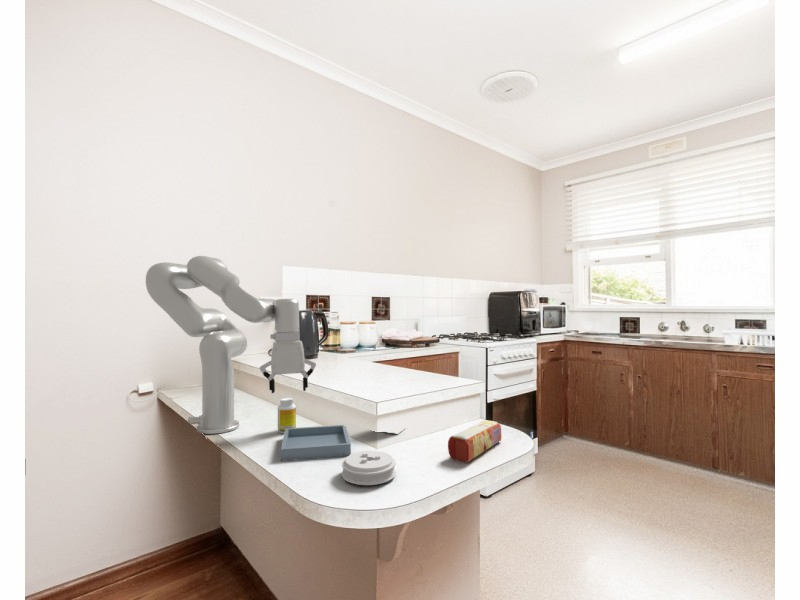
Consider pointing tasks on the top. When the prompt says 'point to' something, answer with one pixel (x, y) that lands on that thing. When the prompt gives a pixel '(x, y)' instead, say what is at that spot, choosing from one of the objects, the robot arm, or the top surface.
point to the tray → (315, 442)
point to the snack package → (474, 441)
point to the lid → (368, 468)
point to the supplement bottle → (286, 415)
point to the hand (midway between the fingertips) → (288, 391)
